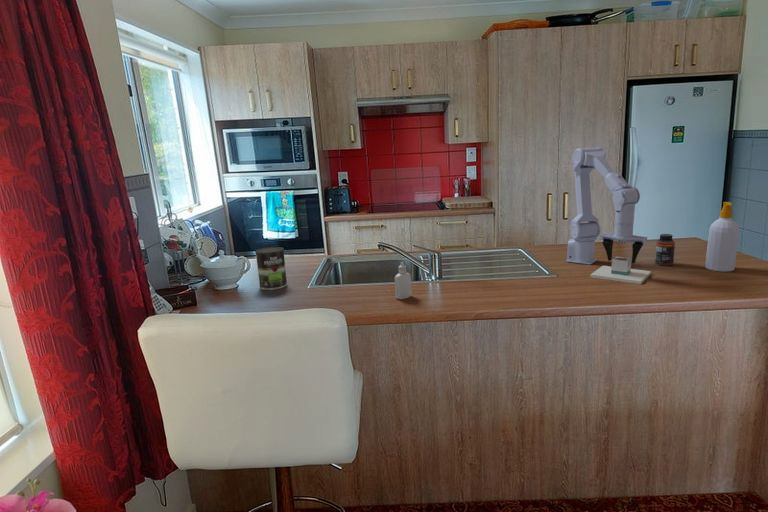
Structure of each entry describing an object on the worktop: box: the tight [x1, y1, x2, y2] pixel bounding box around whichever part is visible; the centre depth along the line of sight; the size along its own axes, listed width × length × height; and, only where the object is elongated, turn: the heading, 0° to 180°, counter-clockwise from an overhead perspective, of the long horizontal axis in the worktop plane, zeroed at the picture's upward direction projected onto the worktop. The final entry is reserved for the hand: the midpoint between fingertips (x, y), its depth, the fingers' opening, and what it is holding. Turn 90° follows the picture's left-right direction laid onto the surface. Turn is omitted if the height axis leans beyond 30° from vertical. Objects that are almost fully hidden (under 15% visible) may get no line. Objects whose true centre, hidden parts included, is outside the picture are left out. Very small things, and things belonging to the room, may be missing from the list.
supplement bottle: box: [654, 233, 676, 267], centre depth 174 cm, size 6×6×11 cm
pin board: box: [590, 265, 652, 285], centre depth 164 cm, size 16×14×4 cm
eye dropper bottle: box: [394, 261, 412, 300], centre depth 153 cm, size 4×6×12 cm
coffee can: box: [255, 246, 288, 291], centre depth 174 cm, size 10×10×14 cm
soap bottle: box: [704, 201, 740, 273], centre depth 163 cm, size 9×9×24 cm
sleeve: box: [611, 256, 632, 276], centre depth 164 cm, size 5×5×5 cm
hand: (621, 261), depth 163 cm, fingers open, 7 cm apart
